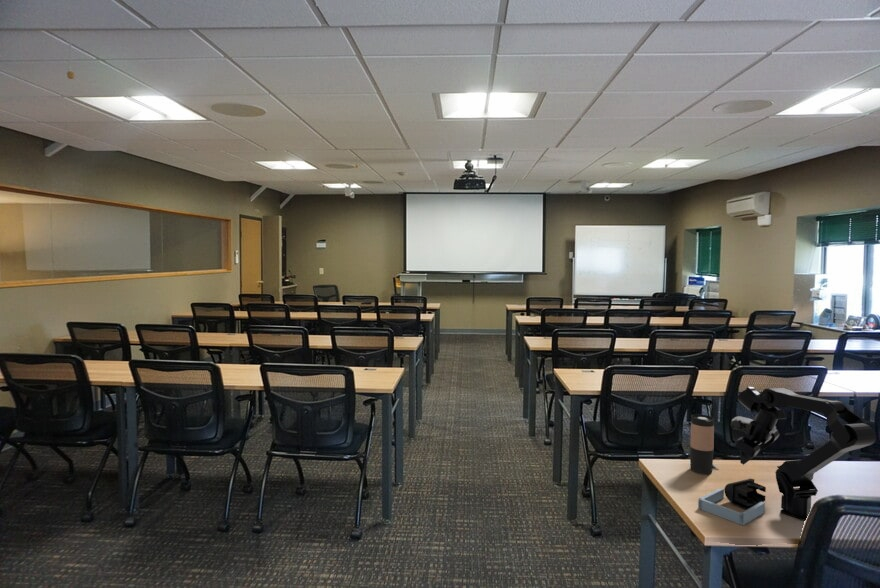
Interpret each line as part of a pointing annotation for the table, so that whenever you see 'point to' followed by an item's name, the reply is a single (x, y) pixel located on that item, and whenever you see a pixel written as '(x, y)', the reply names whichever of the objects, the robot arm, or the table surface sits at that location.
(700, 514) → the table surface
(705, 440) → the travel mug
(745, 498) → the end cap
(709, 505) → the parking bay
